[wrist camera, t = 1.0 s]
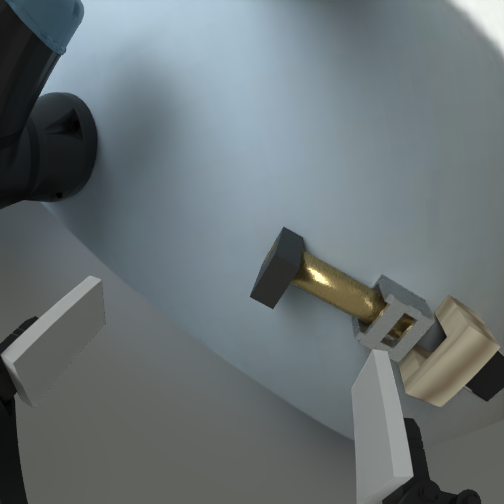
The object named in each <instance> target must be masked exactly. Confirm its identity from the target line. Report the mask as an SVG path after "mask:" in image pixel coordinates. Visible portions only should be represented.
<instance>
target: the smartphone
mask: <svg viewBox="0 0 504 504" xmlns="http://www.w3.org/2000/svg"><path fill="white" fill-rule="evenodd" d="M464 387H465V388H467V389H468V390H470V391H472V392H473V393H475V394H476V395H478V396H479V397H481V398H482V399H484V400H485V401H490V400H491V399H492V398H493V397H494V396H495V395H497V394H498V393H499V392H500V391H501V390H502V389H503V388H504V355H503V354H502V353H501V352H500V351H499V350H498V351H497V352H496V353H495V354H494V355H493V356H492V357H491V359H490V360H489V361H488V362H487V363H486V364H485V365H484V366H483V367H482V368H481V369H480V370H479V371H478V373H477V374H476V375H475V376H474V377H473V378H472V379H471V380H470V381H469V382H468V383H467V384H466V385H465V386H464Z"/></svg>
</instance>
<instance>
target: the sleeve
mask: <svg viewBox="0 0 504 504" xmlns="http://www.w3.org/2000/svg"><path fill="white" fill-rule="evenodd" d="M372 289H373V290H374V291H376V292H378V293H380V294H381V295H383V298H384V301H385V302H387V303H388V304H387V305H386V307H385V308H384V309H383V310H382V312H381V313H380V314H379V315H378V317H377V318H376V319H375V320H374V322H373V323H372V324H371V325H368V324H366V323H365V322H363V321H361V320H359V319H357V318H355V317H353V316H351V317H352V324H353V331H354V338H355V339H357V340H358V342H359V344H361V345H363V346H365V347H367V348H369V349H371V350H372V349H374V348H375V349H377V350H382V351H387V352H388V356H389V358H390V359H392V360H394V361H396V362H399V361H401V360H402V359H403V357H404V356H405V355H406V354H407V353H408V352H409V351H410V350H411V349H412V347H413V346H414V345H415V344H416V343H417V342H418V341H419V340H420V338H421V337H422V336H423V335H424V334H425V333H426V332H427V330H428V329H429V328H430V327H431V326H432V325H433V324H434V323H435V321H436V320H435V319H434V317H433V315H432V313H431V311H430V309H429V307H428V305H427V304H426V302H425V300H423V299H422V298H420V297H419V296H417V295H415V294H414V293H412V292H411V291H409V290H407V289H406V288H404V287H402V286H401V285H399V284H398V283H396V282H394V281H393V280H391V279H389V278H388V277H386V276H384V275H383V274H382V275H381V277H380V278H379V279H378V281H377V282H376V284H375V285H374V286H373V288H372ZM404 313H406V314H408V315H409V316H411V317H413V318H415V320H414V321H413V322H412V323H411V324H410V326H409V327H408V328H407V329H406V330H405V331H404V333H403V334H402V335H401V336H400V337H399V338H398V339H395V338H393V337H391V336H389V335H387V333H388V332H389V331H390V330H391V329H392V327H393V326H394V325H395V324H396V323H397V321H398V320H399V319H400V318H401V317H402V315H403V314H404Z"/></svg>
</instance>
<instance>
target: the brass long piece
mask: <svg viewBox="0 0 504 504" xmlns="http://www.w3.org/2000/svg"><path fill="white" fill-rule="evenodd" d="M302 245H303V237H301V236H299V235H297V234H296V233H294V232H292V231H290V230H288V229H287V228H285V227H283V229H282V231H281V232H280V234H279V236H278V238H277V239H276V241H275V243H274V245H273V246H272V248H271V250H270V252H269V253H268V255H267V257H266V258H265V260H264V262H263V264H262V267H261V269H260V272H259V274H258V277H257V279H256V282H255V284H254V287H253V290H252V292H251V295H250V297H251V298H253V299H255V300H257V301H259V302H260V303H262V304H264V305H266V306H268V307H270V308H272V309H273V308H274V307H275V305H276V304H277V302H278V301H279V299H280V298H281V296H282V295H283V293H284V292H285V290H286V289H287V287H288V285H289V284H290V283H292V284H293V285H295V286H297V287H299V288H301V289H303V290H305V291H307V292H308V293H310V294H312V295H314V296H316V297H318V298H320V299H321V300H323V301H325V302H327V303H329V304H331V305H333V306H335V307H336V308H338V309H340V310H342V311H344V312H346V313H348V314H350V315H351V316H353V317H355V318H357V319H359V320H361V321H363V322H365V323H366V324H368V325H371V324H372V323H373V322H374V320H375V319H376V318H377V317H378V315H379V314H380V313H381V312H382V310H383V309H384V308H385V307H386V305H387V304H388V303H387V302H385V301H384V298H383V295H381V294H380V293H378V292H376V291H374V290H373V289H371V288H369V287H368V286H366V285H364V284H362V283H361V282H359V281H357V280H355V279H354V278H352V277H350V276H348V275H347V274H345V273H343V272H341V271H339V270H338V269H336V268H334V267H332V266H331V265H329V264H327V263H325V262H324V261H322V260H320V259H318V258H316V257H315V256H313V255H311V254H309V253H307V252H306V251H304V250H302ZM414 320H415V318H413V317H411V316H409V315H408V314H406V313H404V314H403V315H402V317H401V318H400V319H399V320H398V321H397V323H396V324H395V325H394V326H393V327H392V329H391V330H390V331H389V332H388V333H387V335H389V336H391V337H393V338H395V339H398V338H399V337H400V336H401V335H402V334H403V333H404V331H405V330H406V329H407V328H408V327H409V326H410V324H411V323H412V322H413V321H414Z"/></svg>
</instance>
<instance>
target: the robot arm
mask: <svg viewBox="0 0 504 504" xmlns="http://www.w3.org/2000/svg"><path fill="white" fill-rule="evenodd" d="M83 16H84V6H83V4H82V2H81V1H80V0H0V209H3V208H5V207H7V206H10V205H12V204H15V203H17V202H20V201H23V200H28V201H41V202H57V201H61V200H63V199H66V198H69V197H71V196H73V195H75V194H76V193H78V192H79V191H80V190H81V189H82V188H83V186H84V185H85V184H86V182H87V181H88V179H89V177H90V175H91V172H92V169H93V166H94V163H95V158H96V150H97V137H96V129H95V124H94V121H93V118H92V115H91V113H90V111H89V109H88V107H87V106H86V105H85V103H84V102H83V101H82V100H81V99H80V98H78V97H77V96H75V95H73V94H70V93H59V92H55V93H48V94H45V95H42V96H40V97H39V95H40V93H41V91H42V89H43V87H44V85H45V83H46V81H47V80H48V78H49V76H50V74H51V72H52V70H53V69H54V67H55V65H56V63H57V62H58V60H59V58H60V57H61V55H63V54H64V53H65V52H66V47H67V45H68V43H69V41H70V40H71V38H72V36H73V34H74V33H75V31H76V29H77V28H78V26H79V25H80V23H81V21H82V19H83ZM105 323H106V322H105V312H104V301H103V289H102V279H99V278H96V277H93V276H88V277H87V278H86V279H85V280H83V282H81V283H80V284H79V285H77V287H75V288H74V289H73V290H71V291H70V292H69V293H68V294H67V295H66V296H64V297H63V298H62V299H61V300H60V301H59V302H57V303H56V304H55V305H54V306H53V307H52V308H51V309H49V310H48V311H47V312H46V313H45V314H44V315H43V316H41V317H40V318H37V317H36V316H35V317H33V318H31V319H29V320H27V321H25V322H24V323H23V324H21V325H20V326H19V328H18V329H16V330H15V331H14V332H13V334H10V335H9V336H8V337H7V338H6V339H5V340H4V341H3V342H2V343H1V344H0V504H28V502H27V498H26V493H25V488H24V482H23V477H22V471H21V464H20V457H19V449H18V439H17V428H16V412H15V399H14V395H15V394H16V392H17V393H18V395H19V397H20V399H21V400H22V401H23V402H25V403H26V404H28V405H29V406H31V407H32V408H35V406H36V405H37V404H38V403H39V401H40V400H41V399H42V397H43V396H44V395H45V394H46V393H47V391H48V390H49V389H50V387H51V386H52V385H53V384H54V383H55V382H56V380H57V379H58V378H59V376H61V374H62V373H63V372H64V371H65V370H66V368H67V367H68V366H69V365H70V364H71V362H72V361H73V360H74V359H75V357H76V356H77V355H78V354H79V353H80V352H81V351H82V350H83V349H84V347H85V346H86V345H87V344H88V342H90V340H91V339H92V338H93V337H94V336H95V335H96V334H97V333H98V331H99V330H100V329H101V328H102V327H103V326H104V325H105ZM351 395H352V406H353V419H354V434H355V453H356V477H357V479H356V480H357V504H378V503H380V502H381V501H382V504H481V499H480V496H479V495H478V494H477V492H475V491H473V490H469V489H467V490H464V491H462V492H461V493H459V494H458V495H456V494H451V493H447V492H443V491H441V490H440V488H439V486H438V485H437V484H436V483H435V482H433V481H431V480H430V477H429V472H428V467H427V462H426V457H425V452H424V449H423V442H422V440H421V439H422V437H421V433H420V428H419V427H418V425H417V424H416V422H415V420H414V419H412V418H403V415H402V410H401V405H400V401H399V397H398V392H397V388H396V384H395V379H394V375H393V371H392V367H391V364H390V360H389V356H388V352H387V351H382V350H376V349H372V351H371V353H370V355H369V357H368V359H367V361H366V363H365V364H364V366H363V368H362V370H361V372H360V374H359V375H358V377H357V379H356V381H355V382H354V384H353V386H352V388H351Z"/></svg>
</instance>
